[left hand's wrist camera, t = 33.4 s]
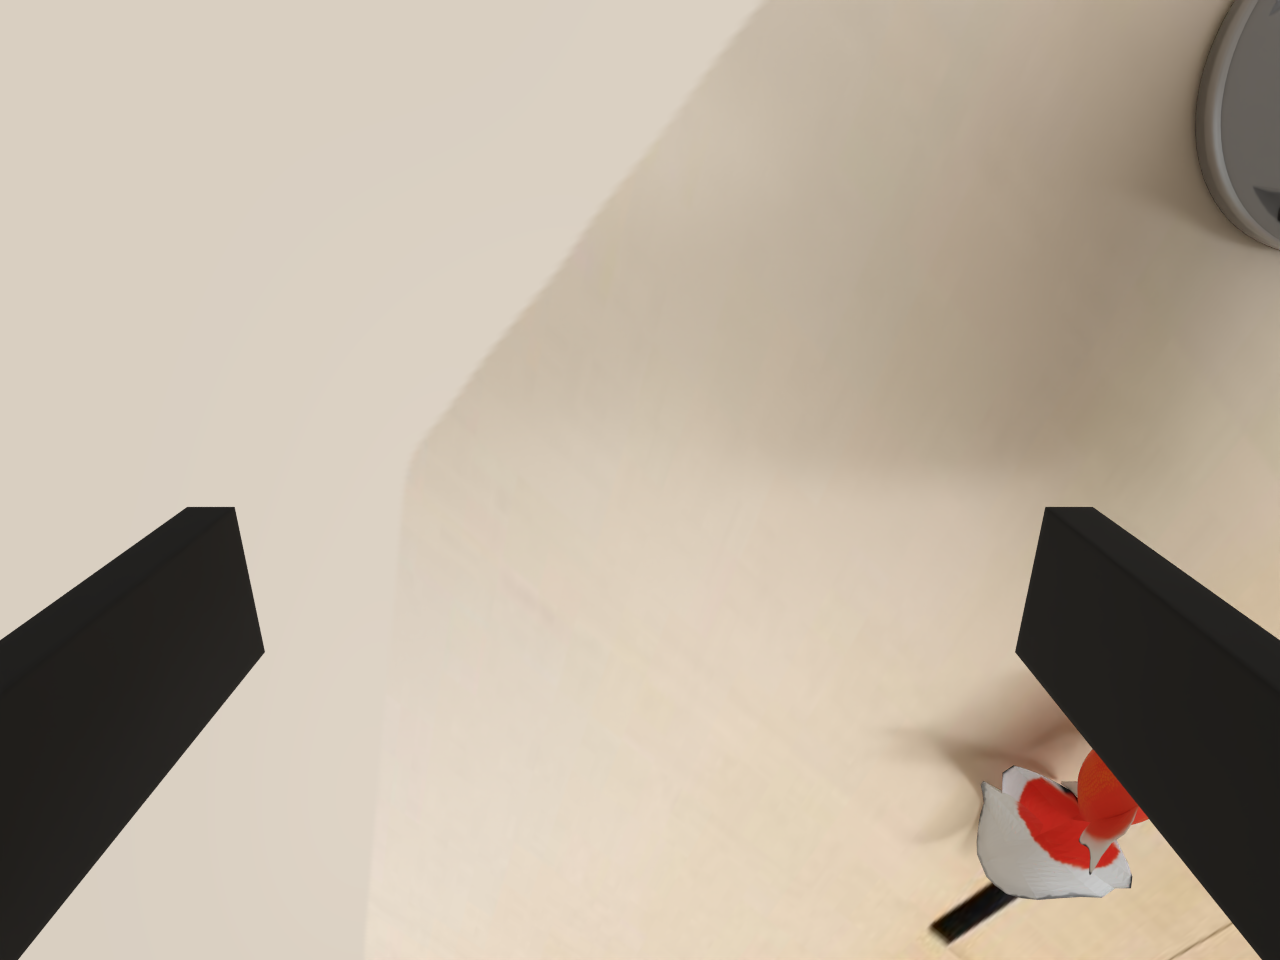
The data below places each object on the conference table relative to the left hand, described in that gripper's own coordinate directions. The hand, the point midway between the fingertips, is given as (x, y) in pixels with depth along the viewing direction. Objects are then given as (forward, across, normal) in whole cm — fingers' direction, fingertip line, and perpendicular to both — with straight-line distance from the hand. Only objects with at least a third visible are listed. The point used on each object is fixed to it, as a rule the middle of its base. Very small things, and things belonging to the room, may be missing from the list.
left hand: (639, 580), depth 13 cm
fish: (+28, +26, -28) cm, 48 cm away
